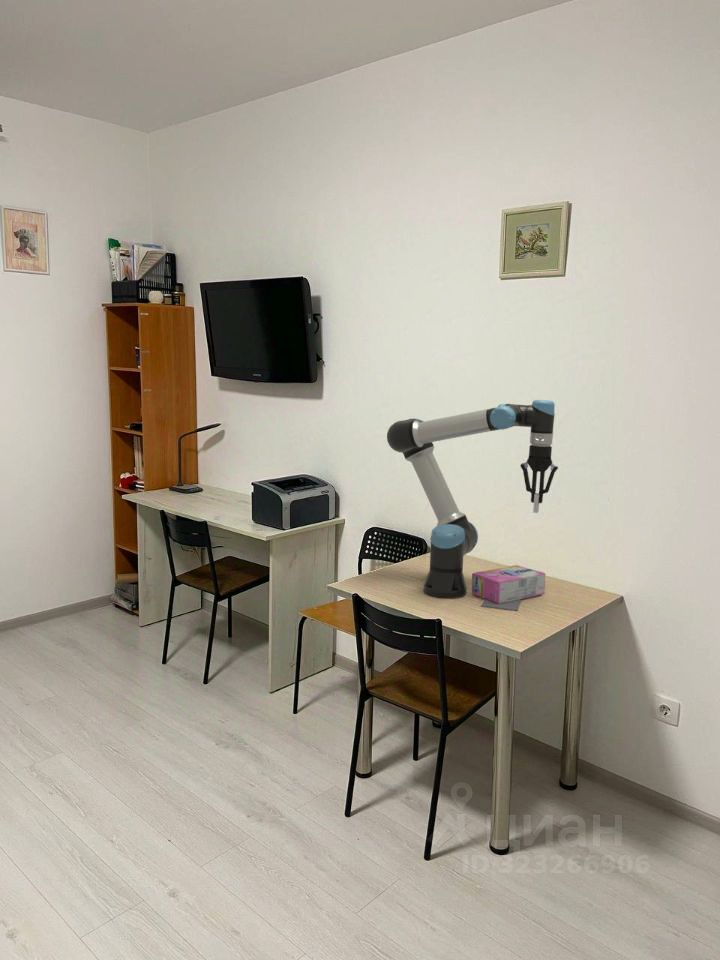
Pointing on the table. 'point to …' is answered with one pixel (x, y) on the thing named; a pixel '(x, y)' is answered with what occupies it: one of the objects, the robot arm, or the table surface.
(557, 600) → the table surface
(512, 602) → the mat
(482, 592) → the gum box
